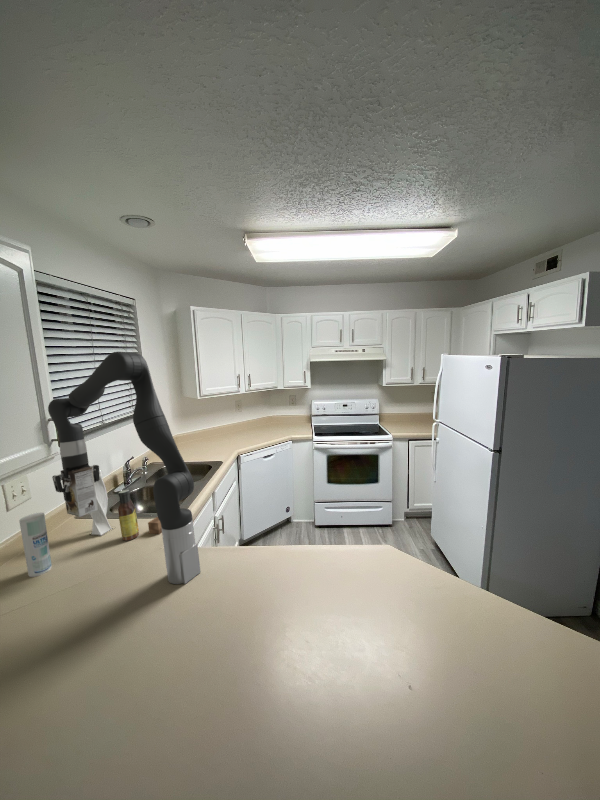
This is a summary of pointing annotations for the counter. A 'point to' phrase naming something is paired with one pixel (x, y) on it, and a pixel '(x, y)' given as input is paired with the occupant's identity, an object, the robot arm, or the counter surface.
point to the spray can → (35, 544)
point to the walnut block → (155, 526)
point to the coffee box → (81, 492)
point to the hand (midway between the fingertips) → (80, 497)
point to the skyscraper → (100, 509)
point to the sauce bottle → (127, 516)
